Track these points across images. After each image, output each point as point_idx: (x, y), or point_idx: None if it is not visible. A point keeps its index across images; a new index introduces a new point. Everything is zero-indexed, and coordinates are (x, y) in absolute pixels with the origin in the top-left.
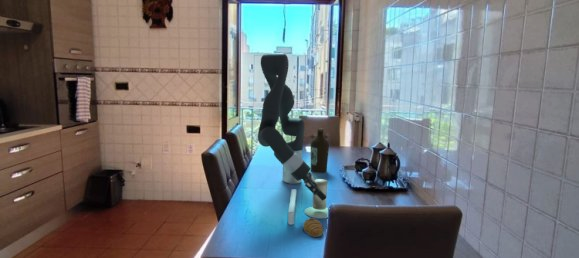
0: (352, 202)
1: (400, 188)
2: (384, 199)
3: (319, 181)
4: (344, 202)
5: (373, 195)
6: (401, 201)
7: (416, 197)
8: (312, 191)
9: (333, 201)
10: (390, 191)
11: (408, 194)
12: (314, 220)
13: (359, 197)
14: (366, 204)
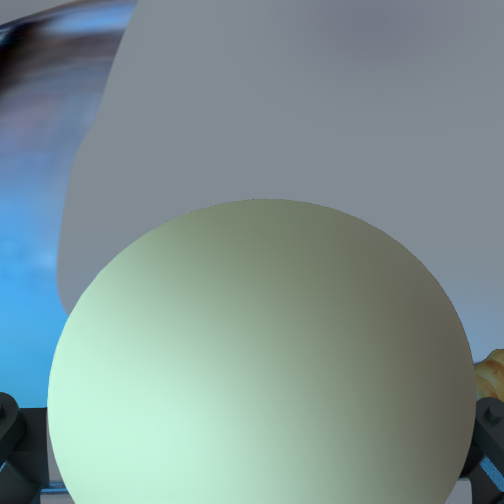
0: (59, 150)
1: (8, 34)
2: (67, 51)
3: (322, 462)
4: (49, 189)
5: (19, 81)
6: (101, 20)
7: (84, 4)
8: (493, 487)
9: (24, 253)
10: (13, 48)
11: (55, 16)
12: (502, 397)
13: (15, 122)
14: (99, 97)
